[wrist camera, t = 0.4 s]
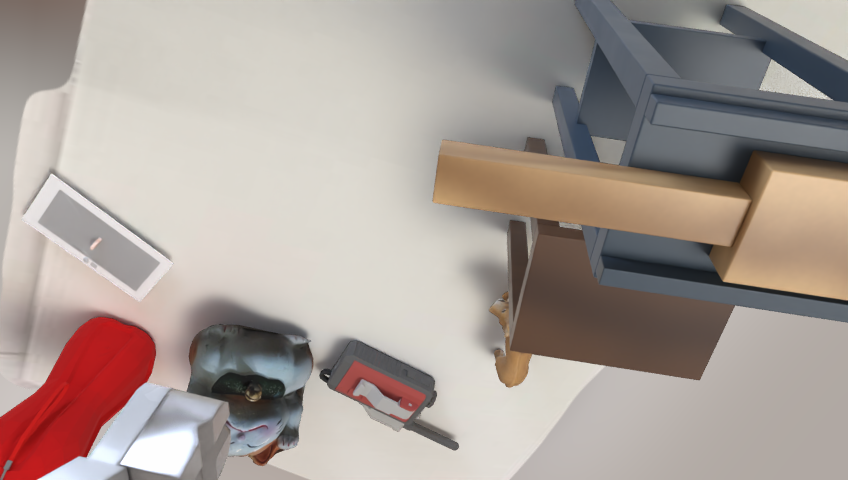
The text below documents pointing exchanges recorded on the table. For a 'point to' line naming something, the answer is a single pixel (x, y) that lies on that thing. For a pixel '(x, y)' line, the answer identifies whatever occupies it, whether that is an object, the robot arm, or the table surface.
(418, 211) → the table surface
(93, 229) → the touchpad
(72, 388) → the water bottle
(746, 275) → the crossed tan timber pieces
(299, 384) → the lucky cat figurine
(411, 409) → the walkie-talkie
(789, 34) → the tall stand
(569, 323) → the low stand
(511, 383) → the lion figurine
